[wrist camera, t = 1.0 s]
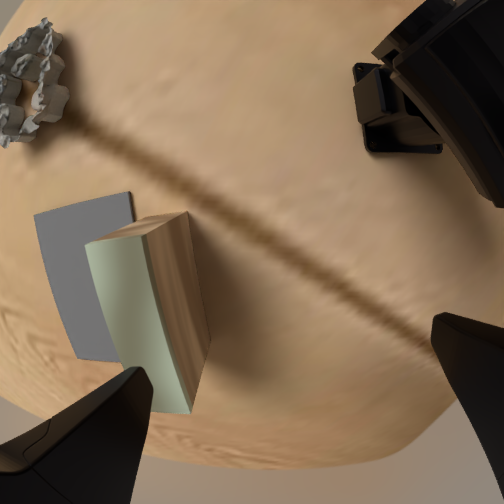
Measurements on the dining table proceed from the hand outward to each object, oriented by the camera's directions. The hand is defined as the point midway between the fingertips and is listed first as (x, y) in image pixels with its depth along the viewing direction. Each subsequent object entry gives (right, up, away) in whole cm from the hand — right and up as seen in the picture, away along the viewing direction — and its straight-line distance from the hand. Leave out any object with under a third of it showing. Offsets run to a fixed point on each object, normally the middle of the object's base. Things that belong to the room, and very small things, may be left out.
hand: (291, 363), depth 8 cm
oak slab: (-6, +1, +13) cm, 14 cm away
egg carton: (-20, +18, +9) cm, 28 cm away
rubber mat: (-14, 0, +13) cm, 19 cm away
